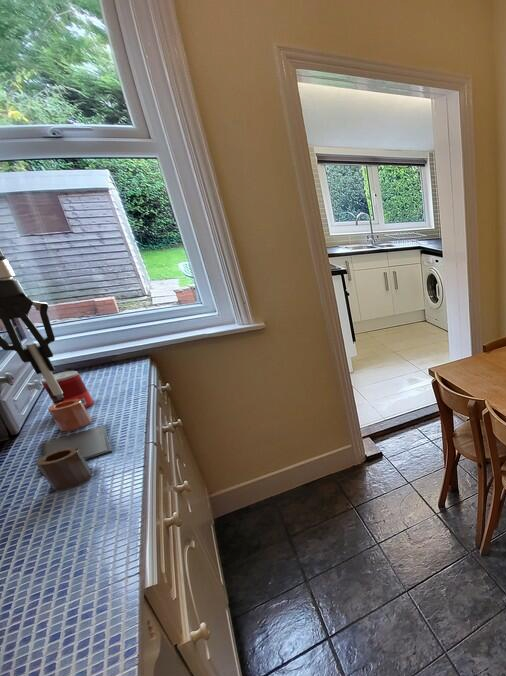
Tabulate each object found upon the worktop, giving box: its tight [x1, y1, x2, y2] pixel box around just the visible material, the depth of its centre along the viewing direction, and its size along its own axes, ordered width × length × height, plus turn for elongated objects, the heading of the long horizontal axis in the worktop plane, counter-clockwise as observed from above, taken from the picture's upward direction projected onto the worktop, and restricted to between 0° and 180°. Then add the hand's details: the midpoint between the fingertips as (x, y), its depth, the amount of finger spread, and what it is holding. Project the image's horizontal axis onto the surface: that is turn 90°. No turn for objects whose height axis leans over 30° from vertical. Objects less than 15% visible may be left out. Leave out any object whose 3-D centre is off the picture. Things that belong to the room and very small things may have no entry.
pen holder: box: [47, 399, 93, 432], centre depth 113 cm, size 6×6×7 cm
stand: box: [35, 447, 94, 491], centre depth 89 cm, size 6×6×7 cm
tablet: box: [40, 424, 113, 477], centre depth 103 cm, size 20×12×1 cm, turn 47°
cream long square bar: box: [25, 342, 64, 399], centre depth 107 cm, size 2×2×15 cm
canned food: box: [40, 370, 94, 409], centre depth 123 cm, size 8×8×11 cm
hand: (45, 370), depth 108 cm, fingers closed on cream long square bar, 2 cm apart
